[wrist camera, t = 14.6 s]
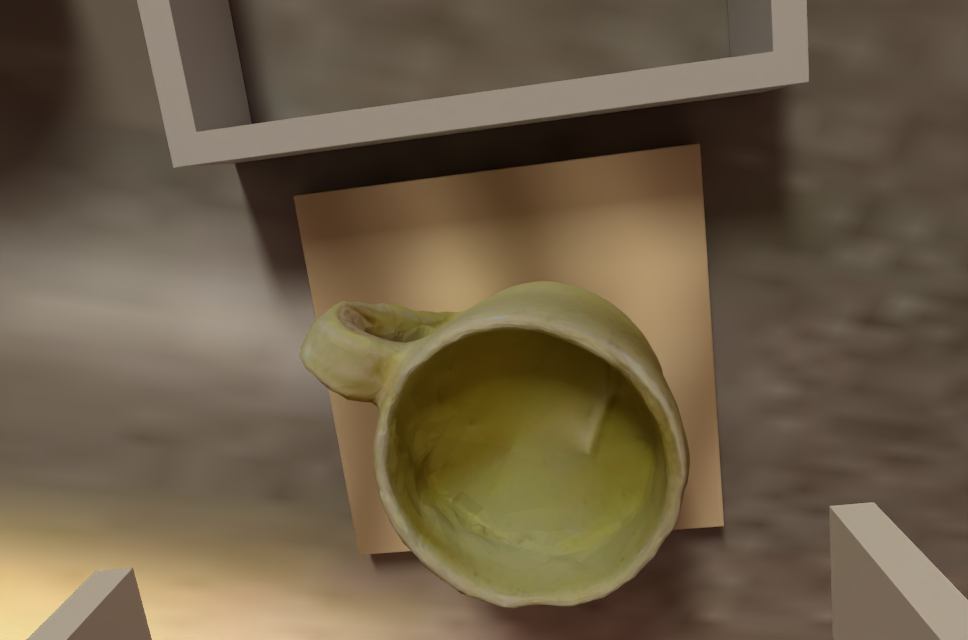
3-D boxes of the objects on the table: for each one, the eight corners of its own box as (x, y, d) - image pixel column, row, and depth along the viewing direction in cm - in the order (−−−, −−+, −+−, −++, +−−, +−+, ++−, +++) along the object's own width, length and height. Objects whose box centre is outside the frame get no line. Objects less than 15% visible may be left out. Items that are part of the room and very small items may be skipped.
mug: (777, 369, 26) (746, 529, 18) (594, 520, 32) (503, 700, 23) (522, 140, 27) (377, 187, 19) (387, 323, 33) (226, 425, 24)
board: (365, 540, 32) (359, 555, 31) (303, 194, 29) (293, 196, 28) (716, 511, 31) (723, 525, 30) (693, 143, 28) (700, 143, 27)
